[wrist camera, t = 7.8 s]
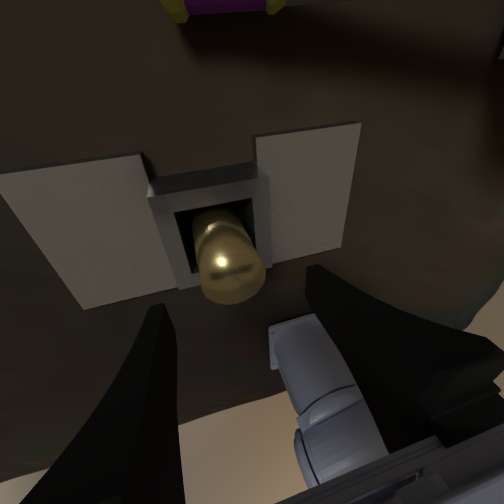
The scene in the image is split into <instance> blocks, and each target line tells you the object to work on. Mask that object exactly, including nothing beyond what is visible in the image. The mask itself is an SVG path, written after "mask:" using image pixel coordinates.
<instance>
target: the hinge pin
mask: <svg viewBox="0 0 504 504" xmlns="http://www.w3.org/2000/svg"><path fill="white" fill-rule="evenodd" d="M190 223H191V229H192V235H193V241H194V247H195V253H196V258H197V264H198V270H199V276H200V282H201V288H202V291H203V293H204V295H205V296H206V297H207V298H208V299H210V300H211V301H213V302H215V303H219V304H228V305H229V304H236V303H240V302H243V301H245V300H247V299H249V298H251V297H252V296H254V295H255V294H256V293H257V292H258V291H259V290H260V289H261V287H262V286H263V284H264V281H265V278H266V270H265V267H264V265H263V263H262V261H261V259H260V257H259V255H258V253H257V251H256V249H255V248H254V246H253V244H252V242H251V240H250V238H249V236H248V234H247V232H246V230H245V229H244V227H243V225H242V223H241V221H240V219H239V217H238V215H237V213H236V212H235V210H234V208H233V206H232V204H231V203H230V202H226V203H221V204H216V205H211V206H205V207H200V208H195V209H191V211H190Z"/></svg>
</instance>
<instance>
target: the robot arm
mask: <svg viewBox="0 0 504 504" xmlns="http://www.w3.org/2000/svg"><path fill="white" fill-rule="evenodd" d="M305 296H306V298H307V300H308V302H309V304H310V306H311V308H312V310H313V312H314V313H312V314H309V315H305V316H302V317H298V318H295V319H291V320H288V321H285V322H281V323H278V324H274V325H271V326H270V327H269V328H268V335H269V353H270V367H271V369H272V370H274V369H277V368H278V369H279V371H280V374H281V376H282V379H283V381H284V384H285V386H286V389H287V391H288V394H289V397H290V399H291V402H292V404H293V407H294V409H295V411H296V412H297V414H298V415H299V417H297V422H298V424H299V427H300V428H299V429H297V430H296V432H295V438H294V449H295V453H296V457H297V461H298V463H299V467H300V470H301V472H302V475H303V477H304V480H305V482H306V484H307V487H308V490H306V491H303V492H301V493H299V494H297V495H294V496H292V497H289V498H287V499H285V500H282V501H280V502H278V503H275V504H504V399H503V398H502V397H501V396H500V395H499V394H498V393H499V392H500V391H501V390H500V388H499V387H498V386H497V385H496V384H495V383H494V382H493V380H494V379H495V378H496V377H497V376H498V375H499V374H500V373H501V372H502V371H503V370H504V351H503V350H501V349H500V348H499V347H498V346H496V345H495V344H494V343H493V342H491V341H490V340H489V339H488V338H486V337H483V336H479V335H476V334H471V333H468V332H464V331H461V330H457V329H453V328H450V327H447V326H444V325H441V324H437V323H434V322H431V321H428V320H426V319H423V318H420V317H417V316H415V315H412V314H410V313H407V312H405V311H402V310H400V309H397V308H395V307H393V306H391V305H389V304H386V303H384V302H382V301H380V300H378V299H376V298H374V297H372V296H370V295H368V294H367V293H365V292H363V291H361V290H359V289H358V288H356V287H354V286H352V285H351V284H349V283H347V282H346V281H344V280H343V279H341V278H339V277H338V276H336V275H335V274H333V273H331V272H330V271H328V270H327V269H325V268H324V267H322V266H320V265H319V264H316V265H312V266H308V267H307V273H306V287H305ZM19 504H186V503H185V495H184V485H183V476H182V466H181V456H180V446H179V433H178V420H177V342H176V332H175V329H174V326H173V324H172V321H171V319H170V317H169V314H168V312H167V309H166V307H165V305H164V303H161V304H157V305H153V306H150V307H149V309H148V311H147V314H146V316H145V319H144V321H143V323H142V326H141V328H140V330H139V333H138V335H137V337H136V339H135V341H134V343H133V345H132V347H131V349H130V351H129V353H128V355H127V357H126V359H125V361H124V363H123V365H122V366H121V368H120V370H119V372H118V374H117V375H116V377H115V379H114V381H113V382H112V384H111V385H110V387H109V389H108V390H107V392H106V393H105V395H104V397H103V398H102V400H101V401H100V402H99V404H98V405H97V407H96V408H95V410H94V411H93V413H92V414H91V416H90V417H89V418H88V420H87V421H86V423H85V424H84V425H83V427H82V428H81V429H80V431H79V432H78V433H77V435H76V436H75V437H74V438H73V440H72V441H71V442H70V444H69V445H68V446H67V447H66V449H65V450H64V451H63V453H62V454H61V455H60V456H59V458H58V459H57V460H56V461H55V463H54V464H53V465H52V466H51V467H50V469H49V470H48V471H47V472H46V473H45V475H44V476H43V477H42V478H41V479H40V480H39V482H38V483H37V484H36V485H35V486H34V487H33V488H32V490H31V491H30V492H29V493H28V494H27V495H26V497H25V498H24V499H23V500H22V501H21V502H20V503H19Z"/></svg>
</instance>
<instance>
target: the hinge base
mask: <svg viewBox="0 0 504 504" xmlns="http://www.w3.org/2000/svg"><path fill="white" fill-rule="evenodd" d="M360 129H361V123H360V122H356V121H350V122H343V123H336V124H328V125H321V126H314V127H307V128H300V129H293V130H286V131H279V132H272V133H264V134H257V135H252V148H253V162H249V163H243V164H236V165H230V166H224V167H218V168H212V169H205V170H199V171H193V172H187V173H181V174H174V175H168V176H162V177H156V178H150V177H149V174H148V171H147V168H146V165H145V162H144V159H143V156H142V153H141V151H137V152H129V153H122V154H115V155H108V156H101V157H94V158H87V159H80V160H73V161H65V162H58V163H51V164H44V165H37V166H30V167H23V168H16V169H9V170H2V171H0V194H1V195H2V196H3V198H4V199H5V200H6V202H7V203H8V205H9V206H10V207H11V209H12V210H13V212H14V213H15V214H16V216H17V217H18V219H19V220H20V221H21V223H22V224H23V226H24V227H25V228H26V230H27V231H28V233H29V234H30V235H31V237H32V238H33V240H34V241H35V242H36V244H37V245H38V247H39V248H40V249H41V251H42V252H43V254H44V255H45V256H46V258H47V259H48V261H49V262H50V263H51V265H52V266H53V268H54V269H55V270H56V272H57V273H58V275H59V276H60V277H61V279H62V280H63V281H64V283H65V284H66V286H67V287H68V288H69V290H70V291H71V293H72V294H73V295H74V297H75V298H76V300H77V301H78V302H79V304H80V305H81V307H82V308H83V309H84V310H85V309H89V308H93V307H97V306H101V305H105V304H109V303H114V302H118V301H122V300H126V299H130V298H134V297H138V296H142V295H146V294H151V293H155V292H159V291H163V290H167V289H171V288H175V287H178V289H179V290H182V289H186V288H190V287H194V286H198V285H201V282H200V276H199V270H198V264H197V258H196V253H195V247H192V248H188V246H187V242H186V239H185V235H184V232H183V228H182V225H181V221H180V217H179V214H178V212H179V211H184V210H189V209H195V208H200V207H205V206H211V205H216V204H221V203H226V202H232V201H237V200H242V209H243V218H244V227H245V230H246V232H247V234H248V236H249V238H250V240H251V242H252V244H253V246H254V248H255V249H256V251H257V253H258V255H259V257H260V259H261V261H262V263H263V265H264V267H265V269H267V268H271V267H272V264H274V263H278V262H282V261H286V260H290V259H294V258H299V257H303V256H307V255H311V254H315V253H319V252H323V251H327V250H331V249H336V248H340V247H341V242H342V236H343V230H344V225H345V219H346V213H347V207H348V201H349V195H350V189H351V183H352V177H353V171H354V165H355V159H356V153H357V147H358V141H359V135H360Z"/></svg>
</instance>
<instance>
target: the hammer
mask: <svg viewBox="0 0 504 504" xmlns="http://www.w3.org/2000/svg"><path fill="white" fill-rule="evenodd" d="M341 1H352V0H160V2H161V4H162V7H163V8H164V9H165V11H166V12H167V13H168V15H169V16H170V17H171V18H172V19H173V20H174V21H175V22H176V23H186V22H187V20H188V17H189V15H202V14H218V13H234V12H250V11H266V12H267V13H268V15H274V14H276V13H277V12H278V11H279V10H280V9H281V8H283V7H284V6H295V5H306V4H318V3H329V2H341ZM499 59H504V47H503V49H502V52H501V54H500V56H499Z"/></svg>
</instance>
